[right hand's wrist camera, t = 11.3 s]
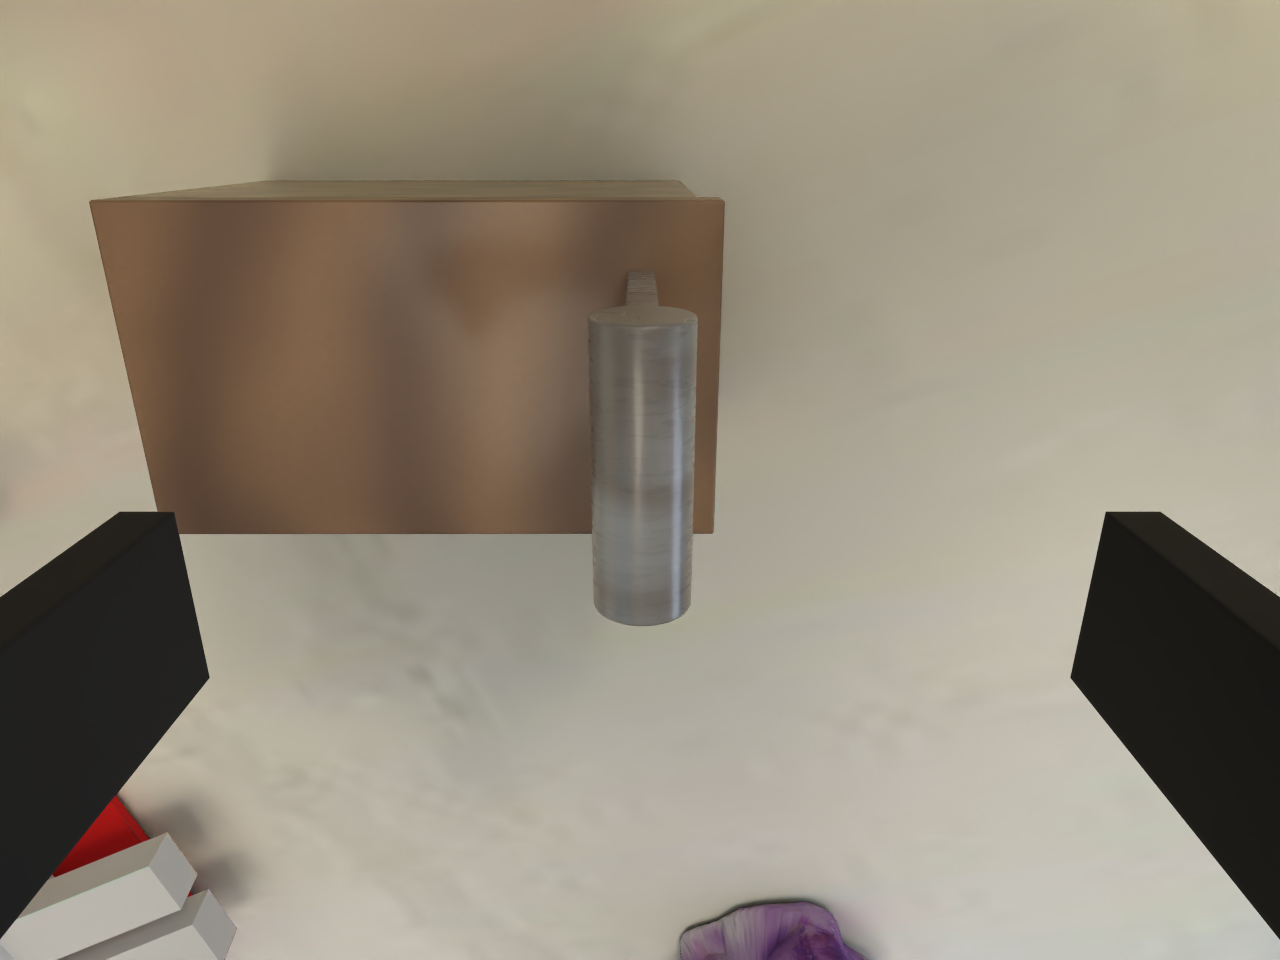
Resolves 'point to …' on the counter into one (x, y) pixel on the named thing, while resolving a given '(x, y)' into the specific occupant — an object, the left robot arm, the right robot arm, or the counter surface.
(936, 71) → the counter surface
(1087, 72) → the counter surface
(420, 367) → the lid
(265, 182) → the chest
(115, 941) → the toy
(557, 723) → the counter surface
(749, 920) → the figurine
